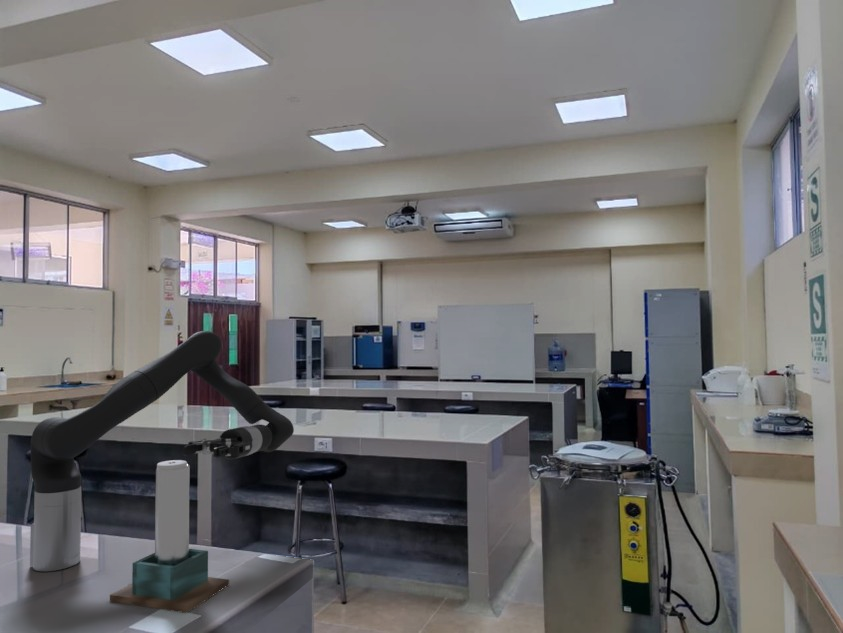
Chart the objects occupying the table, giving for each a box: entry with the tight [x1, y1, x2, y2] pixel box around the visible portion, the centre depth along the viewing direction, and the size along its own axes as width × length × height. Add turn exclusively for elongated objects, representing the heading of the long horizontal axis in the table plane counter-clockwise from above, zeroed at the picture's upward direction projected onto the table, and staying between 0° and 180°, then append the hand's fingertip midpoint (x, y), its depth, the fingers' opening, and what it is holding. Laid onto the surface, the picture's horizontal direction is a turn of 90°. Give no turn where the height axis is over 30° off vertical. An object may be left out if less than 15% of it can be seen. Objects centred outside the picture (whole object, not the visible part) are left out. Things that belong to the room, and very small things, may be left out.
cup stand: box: [109, 548, 230, 613], centre depth 120 cm, size 18×13×7 cm
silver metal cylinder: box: [154, 459, 191, 566], centre depth 121 cm, size 6×6×25 cm
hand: (199, 452), depth 138 cm, fingers open, 8 cm apart
